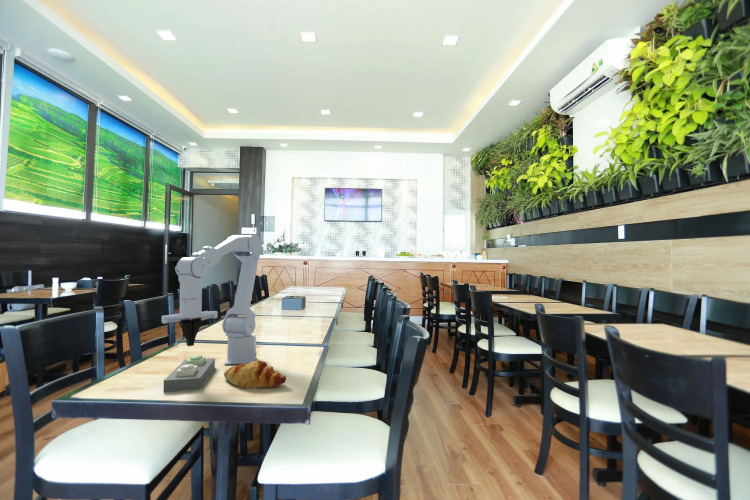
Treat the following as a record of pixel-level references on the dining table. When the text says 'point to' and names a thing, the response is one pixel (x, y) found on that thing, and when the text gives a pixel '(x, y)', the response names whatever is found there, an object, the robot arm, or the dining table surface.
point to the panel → (189, 377)
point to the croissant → (254, 375)
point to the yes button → (196, 360)
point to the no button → (187, 370)
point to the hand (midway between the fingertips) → (190, 345)
